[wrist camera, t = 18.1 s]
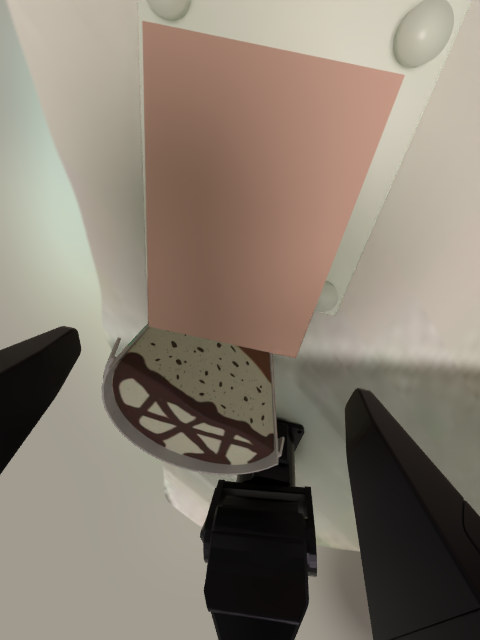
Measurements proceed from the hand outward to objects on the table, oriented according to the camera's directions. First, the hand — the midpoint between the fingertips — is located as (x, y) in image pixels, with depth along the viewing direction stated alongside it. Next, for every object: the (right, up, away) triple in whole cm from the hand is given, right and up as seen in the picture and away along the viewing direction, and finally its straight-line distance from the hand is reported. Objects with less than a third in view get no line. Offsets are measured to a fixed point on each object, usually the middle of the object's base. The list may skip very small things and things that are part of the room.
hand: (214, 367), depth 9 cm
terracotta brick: (+1, +7, +3) cm, 8 cm away
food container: (-2, 0, +17) cm, 17 cm away
